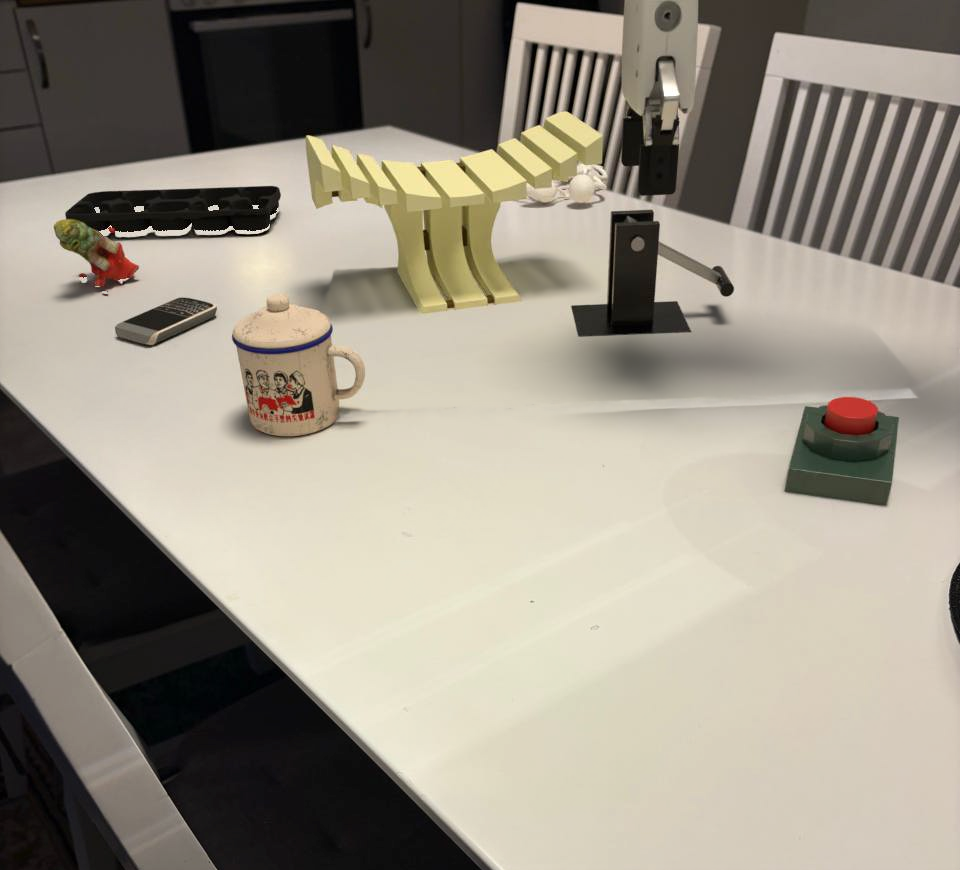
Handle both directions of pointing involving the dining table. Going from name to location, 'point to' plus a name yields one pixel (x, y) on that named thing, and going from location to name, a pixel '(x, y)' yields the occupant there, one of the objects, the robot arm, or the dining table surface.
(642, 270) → the lever bracket
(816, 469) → the button block
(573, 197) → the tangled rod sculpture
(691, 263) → the lever handle
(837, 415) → the button
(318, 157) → the slatted curved stool
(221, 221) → the egg carton
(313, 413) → the teacup with lid
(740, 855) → the dining table surface
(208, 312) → the cell phone
